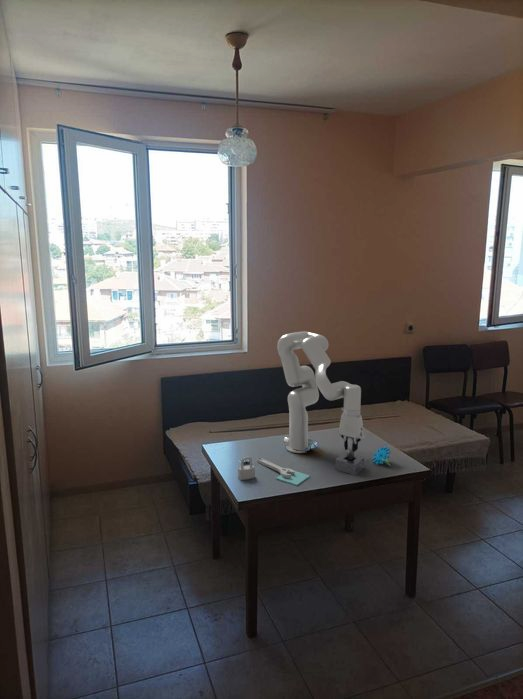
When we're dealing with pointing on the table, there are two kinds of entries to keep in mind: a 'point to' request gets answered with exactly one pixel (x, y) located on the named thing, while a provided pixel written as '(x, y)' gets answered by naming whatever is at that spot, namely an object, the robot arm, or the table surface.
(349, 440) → the metal cylinder
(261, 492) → the table surface
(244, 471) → the padlock
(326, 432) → the table surface
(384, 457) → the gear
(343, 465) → the block
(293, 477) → the mat
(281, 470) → the adjustable wrench
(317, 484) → the table surface
